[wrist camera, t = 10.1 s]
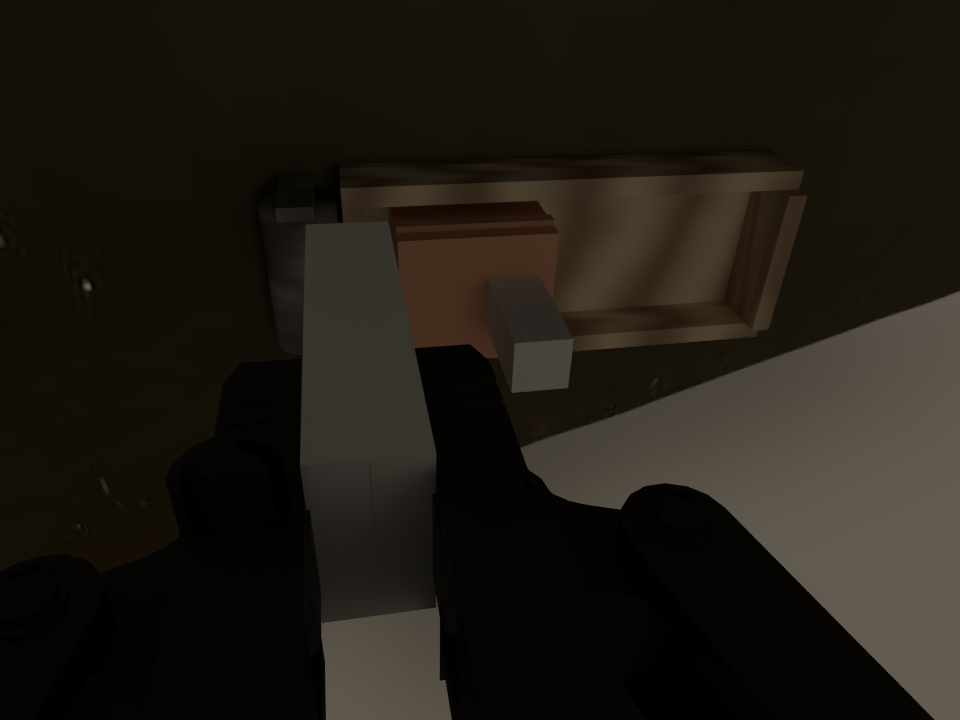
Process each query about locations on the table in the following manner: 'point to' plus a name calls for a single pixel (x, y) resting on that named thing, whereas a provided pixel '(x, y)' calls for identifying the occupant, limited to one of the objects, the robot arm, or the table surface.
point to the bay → (588, 235)
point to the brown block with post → (485, 285)
